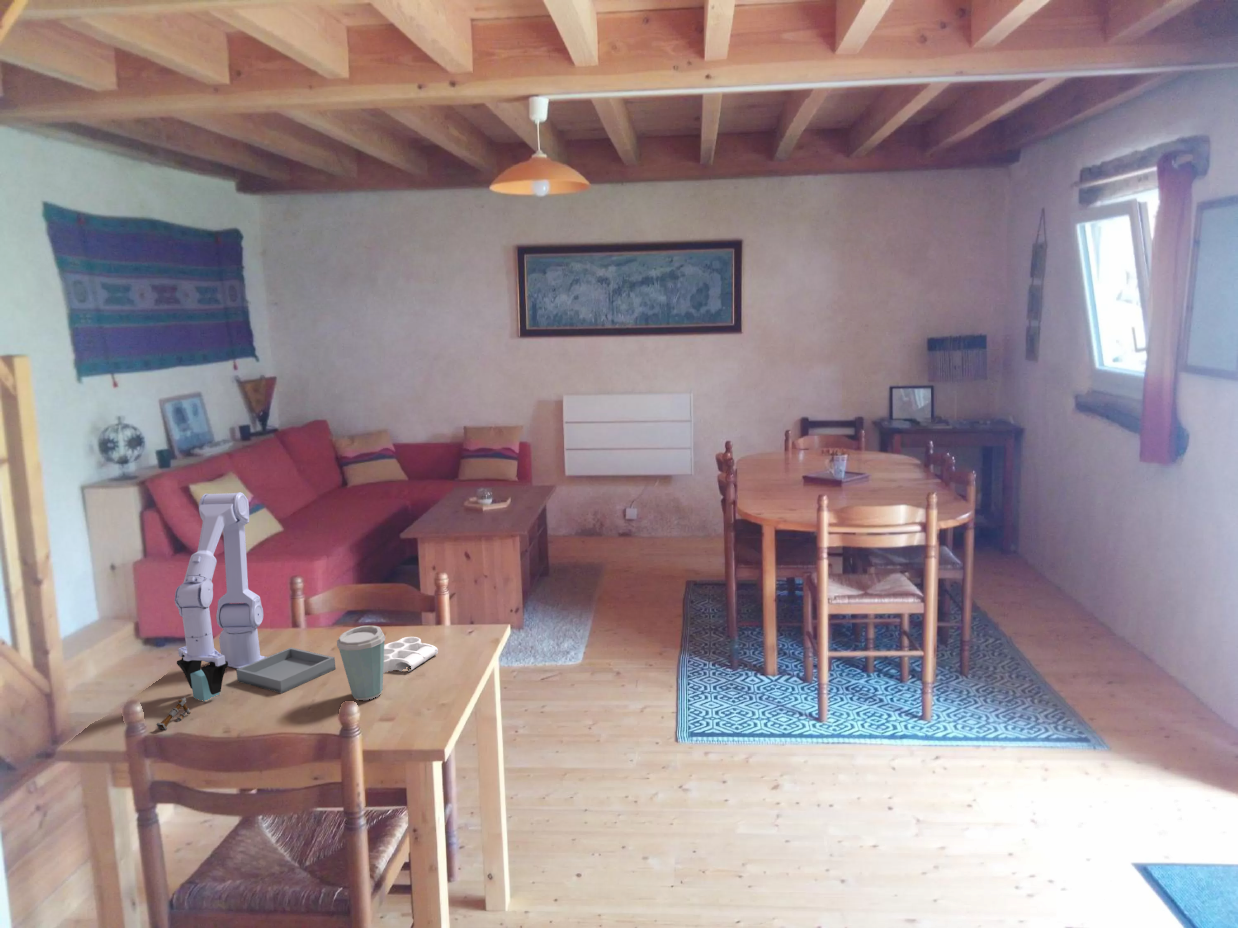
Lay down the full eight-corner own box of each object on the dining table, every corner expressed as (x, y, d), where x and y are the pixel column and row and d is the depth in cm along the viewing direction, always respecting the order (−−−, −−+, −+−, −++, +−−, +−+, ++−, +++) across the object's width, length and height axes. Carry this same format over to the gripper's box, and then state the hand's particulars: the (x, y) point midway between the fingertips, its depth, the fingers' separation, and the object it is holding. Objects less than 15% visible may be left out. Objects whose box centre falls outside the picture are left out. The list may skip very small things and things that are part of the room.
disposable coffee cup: (372, 707, 203) (366, 642, 201) (331, 702, 207) (325, 638, 205) (399, 688, 213) (394, 626, 211) (360, 683, 217) (354, 622, 214)
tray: (237, 681, 222) (236, 669, 221) (292, 658, 235) (290, 647, 234) (281, 693, 213) (280, 680, 213) (335, 668, 227) (334, 657, 226)
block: (193, 698, 213) (190, 673, 212) (209, 691, 216) (205, 667, 215) (204, 701, 211) (201, 676, 210) (219, 694, 214) (216, 670, 213)
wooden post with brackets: (195, 709, 204) (186, 695, 202) (171, 738, 198) (162, 724, 196) (189, 709, 205) (180, 694, 203) (165, 737, 199) (155, 723, 196)
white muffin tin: (404, 679, 219) (353, 672, 225) (445, 652, 236) (397, 646, 241) (403, 665, 219) (352, 659, 224) (444, 639, 235) (396, 634, 241)
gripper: (163, 634, 211) (170, 690, 214) (202, 644, 204) (209, 702, 206) (191, 625, 217) (198, 679, 220) (230, 633, 210) (237, 690, 212)
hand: (205, 689), depth 213 cm, fingers open, 7 cm apart
